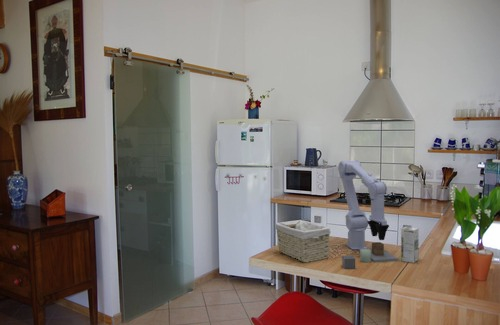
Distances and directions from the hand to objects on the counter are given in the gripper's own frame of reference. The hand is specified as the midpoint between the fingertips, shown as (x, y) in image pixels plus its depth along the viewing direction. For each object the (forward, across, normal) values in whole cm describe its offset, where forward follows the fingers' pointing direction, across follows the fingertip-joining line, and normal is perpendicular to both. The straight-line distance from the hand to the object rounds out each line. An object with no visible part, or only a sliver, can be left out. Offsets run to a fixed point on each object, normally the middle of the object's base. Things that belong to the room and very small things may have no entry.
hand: (378, 237), depth 181 cm
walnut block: (+8, 0, 0) cm, 8 cm away
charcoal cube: (+9, +13, -19) cm, 24 cm away
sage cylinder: (+9, +6, -8) cm, 14 cm away
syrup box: (+9, +9, +10) cm, 16 cm away
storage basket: (+9, -9, -33) cm, 36 cm away
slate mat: (+8, -1, 0) cm, 9 cm away
